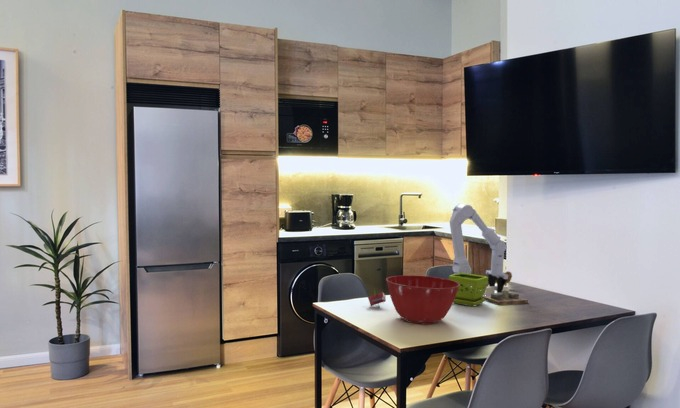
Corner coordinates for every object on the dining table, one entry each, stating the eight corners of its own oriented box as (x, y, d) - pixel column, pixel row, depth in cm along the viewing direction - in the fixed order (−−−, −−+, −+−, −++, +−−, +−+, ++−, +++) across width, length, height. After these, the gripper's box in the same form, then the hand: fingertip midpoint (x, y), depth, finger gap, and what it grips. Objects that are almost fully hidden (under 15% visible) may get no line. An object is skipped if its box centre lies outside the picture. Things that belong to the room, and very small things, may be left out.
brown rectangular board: (498, 304, 249) (498, 294, 249) (481, 299, 260) (482, 288, 260) (527, 303, 256) (528, 292, 256) (510, 297, 267) (511, 287, 267)
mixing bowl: (409, 307, 236) (411, 272, 236) (470, 320, 218) (472, 281, 218) (370, 318, 214) (371, 279, 214) (434, 334, 196) (436, 290, 196)
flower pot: (475, 308, 240) (476, 279, 240) (446, 303, 249) (447, 275, 248) (488, 303, 251) (489, 276, 251) (459, 298, 260) (461, 272, 259)
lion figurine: (508, 287, 296) (509, 270, 295) (513, 289, 290) (514, 272, 290) (483, 287, 292) (484, 270, 292) (488, 289, 287) (489, 272, 287)
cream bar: (485, 295, 269) (486, 287, 269) (482, 294, 272) (482, 286, 272) (508, 294, 275) (509, 286, 275) (504, 293, 278) (505, 285, 277)
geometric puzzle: (364, 302, 233) (376, 288, 233) (364, 299, 240) (375, 285, 240) (377, 313, 233) (389, 298, 233) (376, 309, 240) (388, 295, 240)
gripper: (513, 266, 268) (512, 293, 268) (494, 261, 281) (492, 288, 282) (501, 266, 265) (500, 294, 266) (482, 261, 278) (481, 288, 279)
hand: (495, 291), depth 273 cm, fingers open, 5 cm apart
